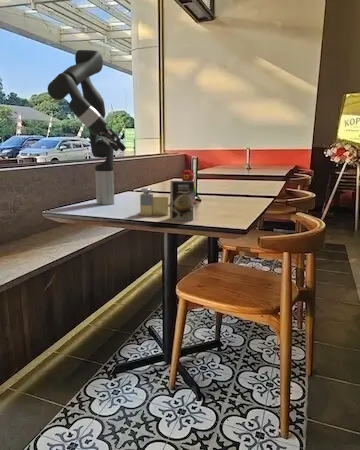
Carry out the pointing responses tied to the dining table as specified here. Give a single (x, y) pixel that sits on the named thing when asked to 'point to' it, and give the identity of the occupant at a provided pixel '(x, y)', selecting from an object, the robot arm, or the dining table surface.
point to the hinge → (153, 205)
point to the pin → (146, 191)
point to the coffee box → (181, 200)
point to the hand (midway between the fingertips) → (121, 149)
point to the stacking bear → (188, 179)
